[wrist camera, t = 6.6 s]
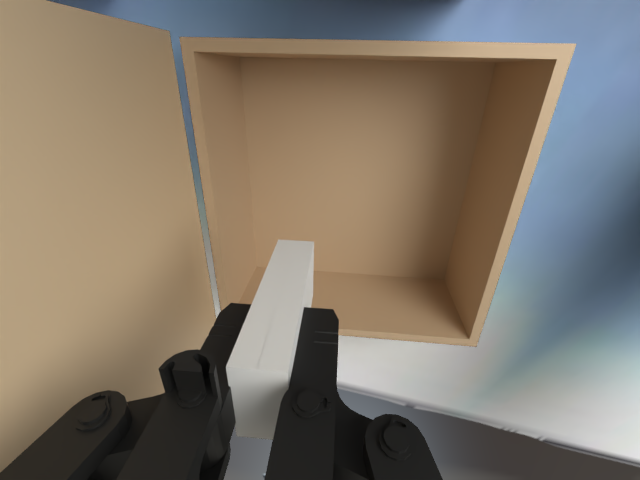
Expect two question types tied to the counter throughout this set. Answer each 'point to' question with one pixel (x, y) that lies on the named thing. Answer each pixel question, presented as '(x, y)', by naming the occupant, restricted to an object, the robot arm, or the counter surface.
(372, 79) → the base
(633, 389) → the counter surface
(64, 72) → the mailer lid
